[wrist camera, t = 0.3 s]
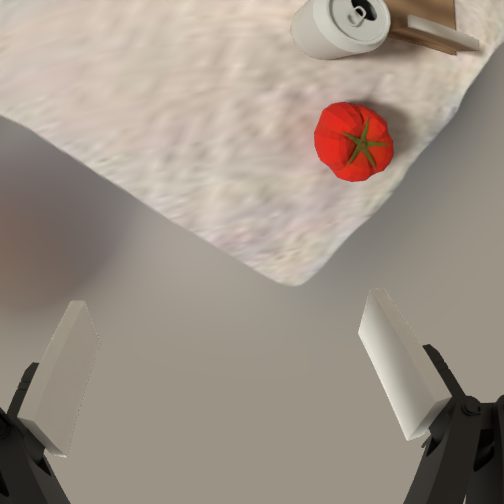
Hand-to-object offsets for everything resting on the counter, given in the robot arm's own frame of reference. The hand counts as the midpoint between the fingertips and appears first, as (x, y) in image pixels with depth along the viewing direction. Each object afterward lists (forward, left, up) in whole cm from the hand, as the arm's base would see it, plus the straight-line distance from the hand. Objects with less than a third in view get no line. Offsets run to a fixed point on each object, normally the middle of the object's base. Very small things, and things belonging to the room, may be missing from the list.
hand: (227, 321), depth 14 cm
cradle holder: (-25, +26, -27) cm, 45 cm away
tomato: (-4, +15, -27) cm, 31 cm away
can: (-17, +12, -27) cm, 34 cm away
